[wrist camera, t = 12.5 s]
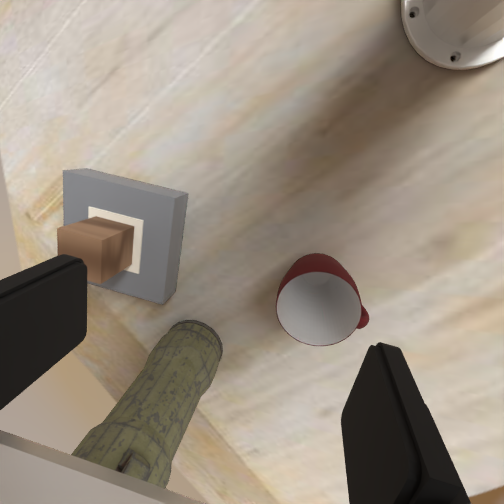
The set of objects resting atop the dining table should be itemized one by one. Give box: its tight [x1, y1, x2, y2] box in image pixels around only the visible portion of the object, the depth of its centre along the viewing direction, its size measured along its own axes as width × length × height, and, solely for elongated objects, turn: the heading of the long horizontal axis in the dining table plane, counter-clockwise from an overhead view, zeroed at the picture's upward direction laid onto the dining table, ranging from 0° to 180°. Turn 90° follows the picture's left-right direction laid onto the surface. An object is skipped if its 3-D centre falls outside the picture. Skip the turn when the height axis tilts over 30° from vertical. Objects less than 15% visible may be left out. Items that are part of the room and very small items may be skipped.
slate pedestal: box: [63, 168, 188, 305], centre depth 39 cm, size 14×14×4 cm
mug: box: [276, 253, 369, 346], centre depth 33 cm, size 10×8×10 cm
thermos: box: [71, 320, 223, 488], centre depth 29 cm, size 9×12×35 cm
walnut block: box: [57, 216, 134, 284], centre depth 34 cm, size 5×5×6 cm
